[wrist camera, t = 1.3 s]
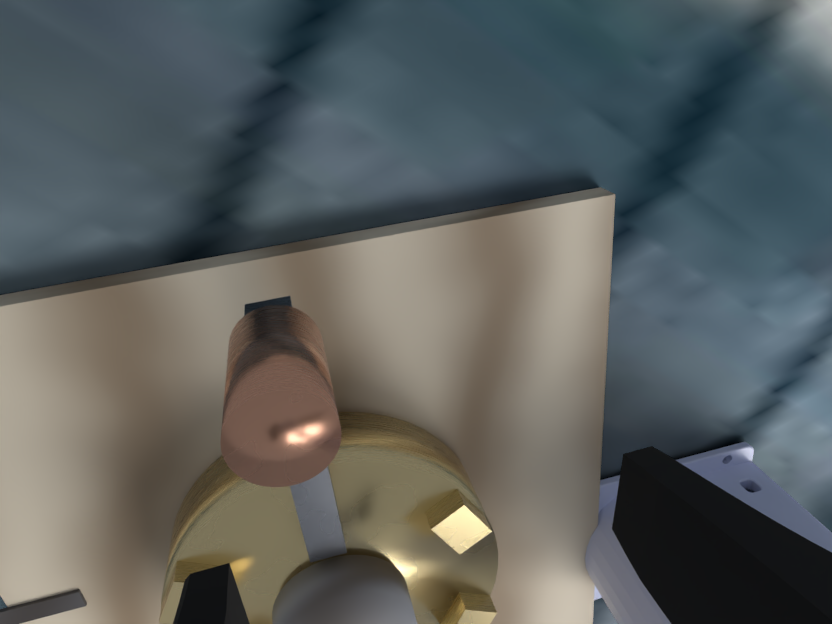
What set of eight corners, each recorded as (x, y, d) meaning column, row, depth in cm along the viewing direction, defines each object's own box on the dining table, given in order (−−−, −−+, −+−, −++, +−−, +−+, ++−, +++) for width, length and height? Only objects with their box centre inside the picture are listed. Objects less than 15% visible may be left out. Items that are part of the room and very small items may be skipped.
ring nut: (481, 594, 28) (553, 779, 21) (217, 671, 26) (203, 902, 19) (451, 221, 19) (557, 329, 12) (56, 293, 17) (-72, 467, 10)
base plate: (600, 187, 21) (714, 241, 16) (583, 616, 32) (647, 733, 27) (-165, 324, 17) (-350, 458, 12) (112, 761, 28) (80, 931, 23)
